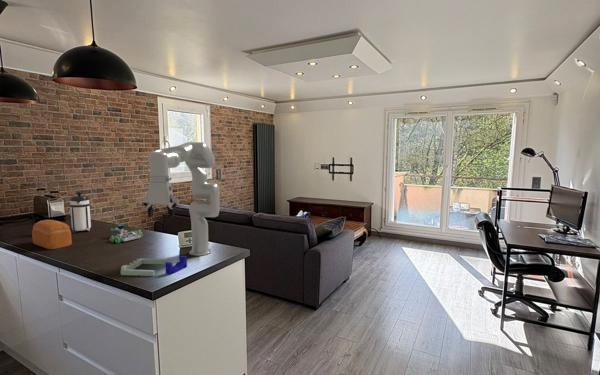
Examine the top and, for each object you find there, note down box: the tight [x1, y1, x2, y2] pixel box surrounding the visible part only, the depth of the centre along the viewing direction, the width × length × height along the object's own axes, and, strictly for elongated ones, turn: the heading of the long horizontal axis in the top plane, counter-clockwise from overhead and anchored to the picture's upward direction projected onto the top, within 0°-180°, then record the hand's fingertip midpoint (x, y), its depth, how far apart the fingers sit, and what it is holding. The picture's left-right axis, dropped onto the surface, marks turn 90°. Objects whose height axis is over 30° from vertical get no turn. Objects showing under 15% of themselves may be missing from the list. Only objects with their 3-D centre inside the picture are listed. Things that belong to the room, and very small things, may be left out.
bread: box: [31, 219, 73, 250], centre depth 208 cm, size 14×26×16 cm, turn 58°
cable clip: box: [164, 255, 188, 276], centre depth 165 cm, size 12×4×6 cm, turn 158°
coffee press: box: [68, 191, 92, 234], centre depth 244 cm, size 17×16×30 cm
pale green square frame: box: [120, 258, 171, 277], centre depth 166 cm, size 17×17×4 cm
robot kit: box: [109, 224, 144, 244], centre depth 224 cm, size 19×25×9 cm
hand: (161, 217), depth 146 cm, fingers open, 9 cm apart
